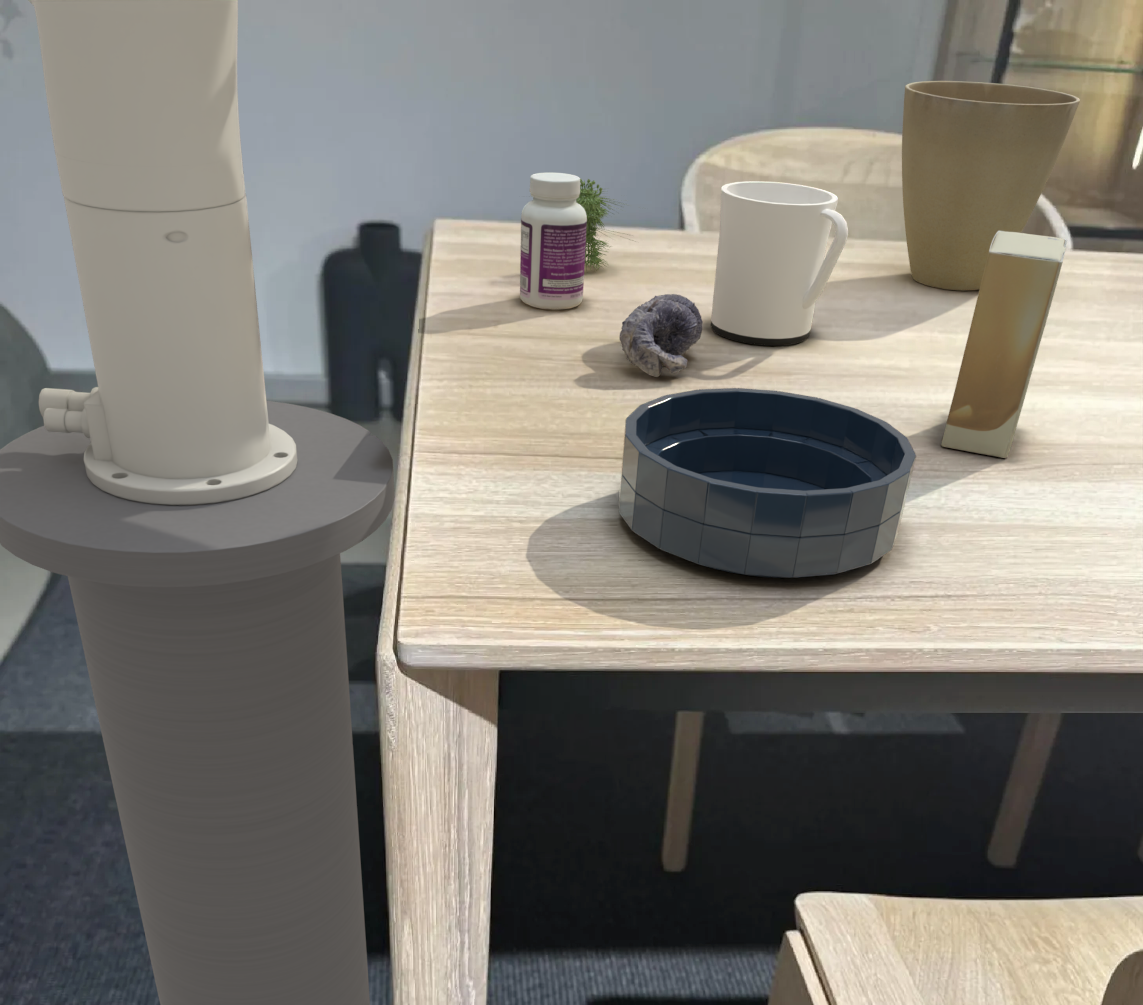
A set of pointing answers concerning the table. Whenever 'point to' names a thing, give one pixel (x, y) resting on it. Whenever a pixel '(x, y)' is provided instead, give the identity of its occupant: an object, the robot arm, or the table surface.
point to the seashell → (661, 333)
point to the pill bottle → (553, 243)
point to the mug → (773, 260)
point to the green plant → (593, 220)
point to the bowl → (764, 481)
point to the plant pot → (973, 170)
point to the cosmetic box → (1003, 341)
